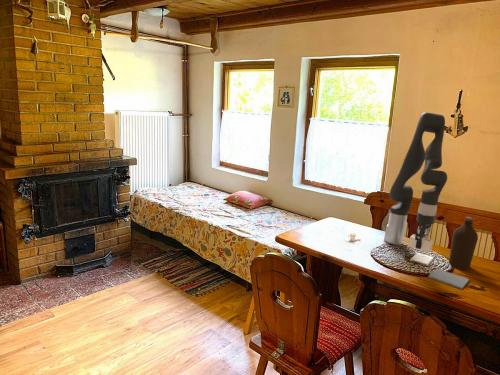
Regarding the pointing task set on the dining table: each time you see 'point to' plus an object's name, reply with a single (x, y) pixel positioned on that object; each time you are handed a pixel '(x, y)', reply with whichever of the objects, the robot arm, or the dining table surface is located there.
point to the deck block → (425, 245)
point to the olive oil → (463, 245)
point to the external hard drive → (422, 259)
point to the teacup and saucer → (353, 238)
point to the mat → (449, 278)
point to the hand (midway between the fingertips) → (419, 246)
